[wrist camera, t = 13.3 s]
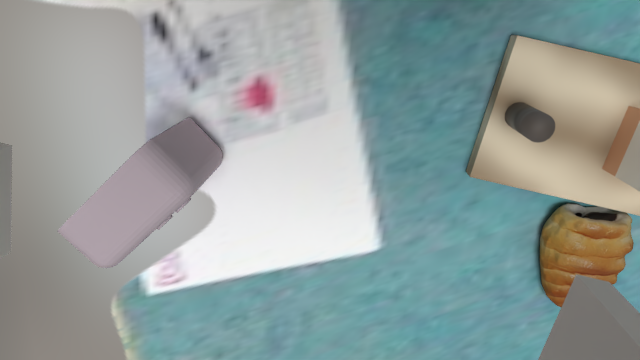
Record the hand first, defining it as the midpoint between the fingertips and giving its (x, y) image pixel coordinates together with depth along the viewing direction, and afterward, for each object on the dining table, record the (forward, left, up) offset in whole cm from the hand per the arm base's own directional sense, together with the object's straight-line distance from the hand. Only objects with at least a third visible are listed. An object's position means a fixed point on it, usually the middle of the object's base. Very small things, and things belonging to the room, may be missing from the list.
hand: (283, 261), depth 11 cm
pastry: (+8, +23, -29) cm, 38 cm away
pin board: (-1, +19, -29) cm, 34 cm away
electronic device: (+10, -12, -29) cm, 33 cm away
